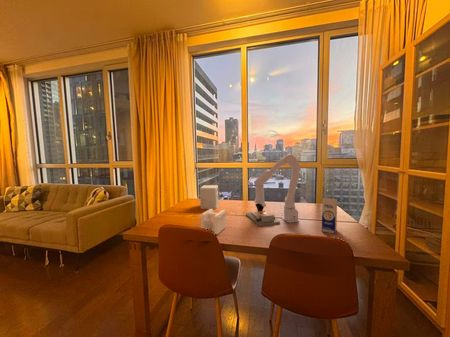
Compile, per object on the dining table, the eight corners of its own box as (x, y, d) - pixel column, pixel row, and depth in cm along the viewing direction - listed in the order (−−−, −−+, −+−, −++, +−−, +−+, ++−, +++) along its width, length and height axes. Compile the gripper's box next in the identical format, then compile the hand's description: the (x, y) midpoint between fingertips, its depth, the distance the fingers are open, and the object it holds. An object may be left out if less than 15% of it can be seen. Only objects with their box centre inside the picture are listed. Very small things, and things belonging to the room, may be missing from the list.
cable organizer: (212, 225, 137) (211, 207, 136) (227, 227, 133) (226, 209, 131) (200, 234, 123) (200, 214, 122) (217, 236, 119) (216, 216, 118)
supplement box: (219, 204, 185) (218, 185, 183) (216, 209, 172) (215, 187, 170) (204, 204, 187) (203, 185, 185) (200, 208, 174) (199, 187, 172)
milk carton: (321, 231, 122) (321, 197, 120) (323, 227, 127) (324, 195, 125) (335, 234, 118) (336, 198, 116) (336, 230, 123) (337, 196, 121)
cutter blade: (270, 219, 138) (270, 214, 138) (263, 220, 137) (263, 215, 137) (264, 215, 147) (264, 210, 147) (257, 216, 146) (257, 211, 145)
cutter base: (279, 223, 135) (279, 215, 135) (259, 226, 132) (259, 218, 131) (263, 213, 158) (263, 205, 158) (246, 215, 155) (245, 207, 154)
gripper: (250, 193, 152) (250, 211, 154) (258, 197, 138) (259, 218, 140) (259, 192, 154) (259, 210, 155) (268, 196, 140) (268, 216, 141)
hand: (260, 214), depth 148 cm, fingers closed
